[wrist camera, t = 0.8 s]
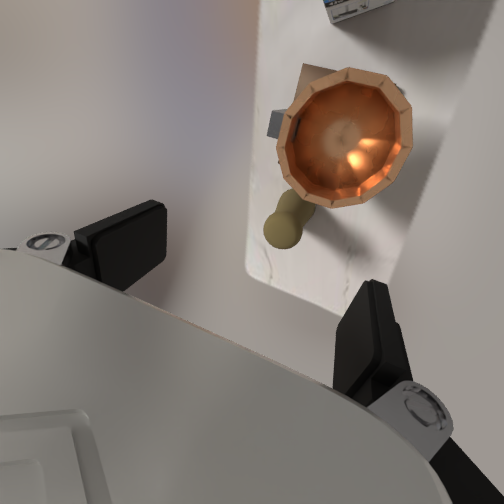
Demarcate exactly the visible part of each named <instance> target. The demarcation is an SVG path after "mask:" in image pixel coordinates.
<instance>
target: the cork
mask: <svg viewBox="0 0 504 504" xmlns="http://www.w3.org/2000/svg"><path fill="white" fill-rule="evenodd" d="M314 211H315V203H312V202H309V201H306V200H304V199H302V198H301V197H300V196H299V195H298V193H297V192H296V191H295V190H294V189H290V190H287V191H286V192H285V193H283V194H282V196H281V197H280V200H279V202H278V205H277V208H276V211H275V213H273V214H272V215H270V216H269V217H268V219H267V220H266V221H265V224H264V229H263V230H264V236H265V238H266V240H267V241H268V242H269V244H270V245H272V246H273V247H275V248H278V249H289V248H292V247H293V246H295V245H296V244H297V243H298V242H299V241H300V239H301V236H302V233H303V226H304V225H305V224H306V223H307V222H308V220H309V219H310V218H311V217H312V215H313V214H314Z"/></svg>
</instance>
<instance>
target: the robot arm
mask: <svg viewBox="0 0 504 504" xmlns="http://www.w3.org/2000/svg"><path fill="white" fill-rule="evenodd" d="M74 235H75V239H74V240H72V241H71V239H70V237H69V236H68V235H66V234H64V233H59V232H43V233H38V234H35V235H32V236H29V237H27V238H25V239H24V240H23V241H22V242H21V244H20V245H19V247H18V248H8V249H0V504H504V496H503V495H502V494H501V493H500V492H499V491H498V490H497V488H496V487H495V486H494V485H493V484H492V483H491V482H490V481H489V479H488V478H487V477H486V476H485V475H484V474H483V473H482V472H481V471H480V469H479V468H478V467H477V466H476V465H475V464H474V463H473V462H472V461H471V459H469V457H468V456H467V455H466V454H465V453H464V452H463V451H462V449H461V448H459V446H458V445H457V444H456V443H455V442H454V441H453V440H452V438H451V437H450V436H451V434H452V431H453V421H452V418H451V416H450V413H449V412H448V410H447V408H446V407H445V405H444V404H443V403H442V402H441V400H440V399H439V398H438V397H437V396H436V395H435V394H434V393H432V392H431V391H430V390H429V389H428V388H426V387H424V386H423V385H420V384H418V383H416V382H413V378H412V374H411V370H410V366H409V361H408V357H407V353H406V349H405V345H404V341H403V337H402V332H401V328H400V326H399V324H398V323H396V322H395V317H394V313H393V309H392V304H391V300H390V295H389V291H388V286H387V284H384V283H382V282H379V281H376V280H373V279H371V280H370V281H364V282H363V284H362V286H361V287H360V289H359V291H358V292H357V294H356V296H355V297H354V299H353V301H352V302H351V304H350V306H349V308H348V309H347V311H346V313H345V314H344V316H343V318H342V319H341V321H340V323H339V324H338V327H337V330H336V343H335V360H334V375H333V389H332V388H330V387H328V386H326V385H324V384H322V383H320V382H318V381H316V380H314V379H312V378H310V377H308V376H306V375H304V374H301V373H299V372H297V371H295V370H293V369H291V368H289V367H287V366H285V365H283V364H280V363H278V362H276V361H274V360H272V359H270V358H267V357H265V356H263V355H261V354H259V353H257V352H254V351H252V350H250V349H248V348H246V347H243V346H241V345H239V344H237V343H235V342H233V341H230V340H228V339H226V338H224V337H222V336H219V335H217V334H215V333H213V332H211V331H209V330H206V329H204V328H202V327H200V326H197V325H195V324H193V323H191V322H189V321H186V320H184V319H182V318H180V317H178V316H175V315H173V314H171V313H169V312H167V311H164V310H162V309H160V308H157V307H155V306H153V305H151V304H149V303H146V302H144V301H142V300H140V299H138V298H135V297H133V296H131V295H129V294H126V293H124V292H123V291H125V290H126V289H127V288H129V287H130V286H131V285H132V284H134V283H135V282H136V281H138V280H139V279H140V278H141V277H143V276H144V275H145V274H147V273H148V272H149V271H151V270H152V269H153V268H155V267H156V266H157V265H158V264H160V263H161V262H162V261H163V260H164V259H165V257H166V246H167V241H166V240H167V209H166V208H165V206H164V204H163V203H160V202H157V201H155V200H149V201H146V202H144V203H141V204H139V205H136V206H134V207H132V208H129V209H127V210H124V211H122V212H120V213H117V214H115V215H112V216H110V217H107V218H105V219H103V220H100V221H98V222H95V223H93V224H91V225H88V226H86V227H83V228H81V229H79V230H76V231H74Z"/></svg>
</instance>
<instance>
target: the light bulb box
mask: <svg viewBox="0 0 504 504" xmlns="http://www.w3.org/2000/svg"><path fill="white" fill-rule="evenodd" d="M393 1H395V0H323V2H324V5H325V8H326V11H327V14H328V17H329V20H330V23H331V24H333V23H336V22H338V21H341V20H344V19H347V18H350V17H353V16H355V15H358V14H361V13H364V12H367V11H369V10H372V9H375V8H378V7H380V6H383V5H386V4H389V3H391V2H393Z"/></svg>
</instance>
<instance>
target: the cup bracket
mask: <svg viewBox="0 0 504 504" xmlns="http://www.w3.org/2000/svg"><path fill="white" fill-rule="evenodd" d="M386 76H387V75H383V74H378V73H373V72H369V71H364V70H359V69H355V68H350V67H347V68H345V69H342V70H340V71H336V70H331V69H327V68H322V67H317V66H313V65H308V64H304V63H303V66H302V69H301V73H300V77H299V81H298V85H297V89H296V93H295V97H294V101H293V103H292V104H291V106H290V107H289V108H288V109H282V110H273V111H272V113H271V118H270V123H269V128H268V132H267V136H269V137H272V138H276V139H278V142H277V146H276V150H277V154H278V158H279V161H278V163H279V164H280V166H281V170H282V174H283V178H284V179H285V180H286V182H287V183H288V184H289V185H290V186H291V187H292V188H293V189H294V190H295V191H296V192H297V193H298V195H299V196H300V197H301V198H302V199H304V200H306V201H309V202H312V203H315V204H318V205H321V206H324V207H328V208H331V207H332V209H333V208H339V207H345V206H351V205H357V204H363V203H365V202H366V201H368V200H369V199H370V198H372V197H373V196H375V195H376V194H377V193H379V192H380V191H382V190H383V189H385V188H386V187H387V186H389V185H390V184H392V183H393V182H394V181H395V179H396V177H397V175H398V173H399V171H400V170H401V168H402V166H403V164H404V162H405V160H406V159H407V157H408V155H409V153H410V151H411V149H412V148H413V134H412V107H411V105H410V104H409V102H408V101H407V100H406V98H405V97H404V96H403V95H402V93H401V92H400V91H399V90H398V88H397V87H396V84H395V83H393V82H392V81H391V79H390V78H389V77H388V76H387V77H386Z"/></svg>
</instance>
